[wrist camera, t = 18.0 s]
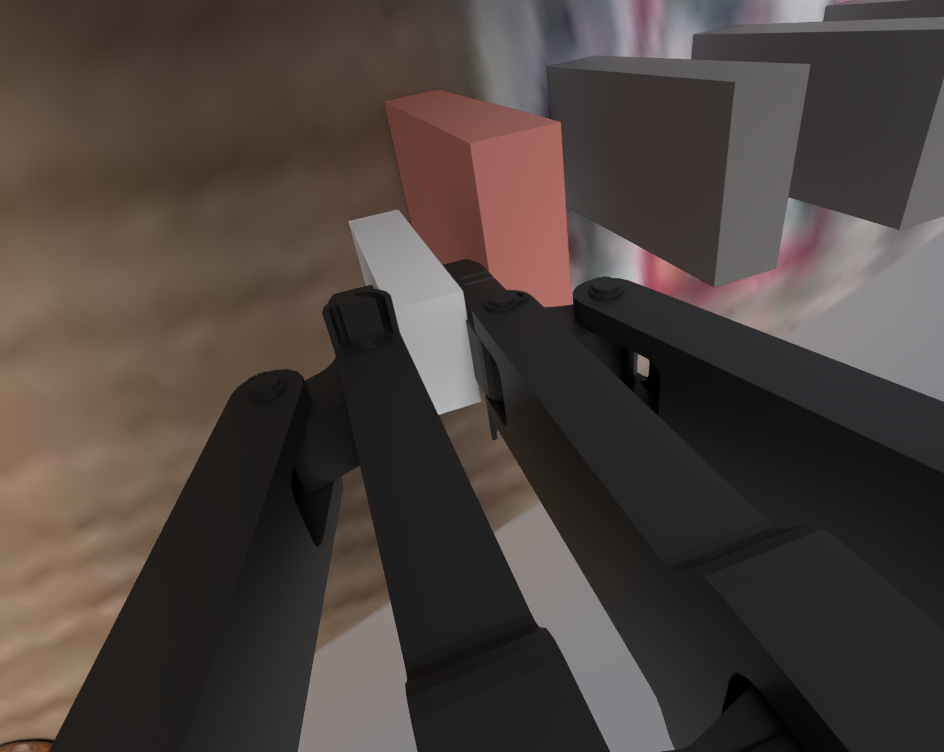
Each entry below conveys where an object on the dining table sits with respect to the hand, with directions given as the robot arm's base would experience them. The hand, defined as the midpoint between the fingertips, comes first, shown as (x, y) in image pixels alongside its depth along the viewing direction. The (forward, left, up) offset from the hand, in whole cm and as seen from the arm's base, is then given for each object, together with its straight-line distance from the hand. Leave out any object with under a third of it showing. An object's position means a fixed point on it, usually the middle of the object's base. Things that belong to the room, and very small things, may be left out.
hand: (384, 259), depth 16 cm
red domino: (+4, 0, -10) cm, 10 cm away
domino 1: (+11, 0, -10) cm, 15 cm away
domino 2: (+19, 0, -10) cm, 21 cm away
